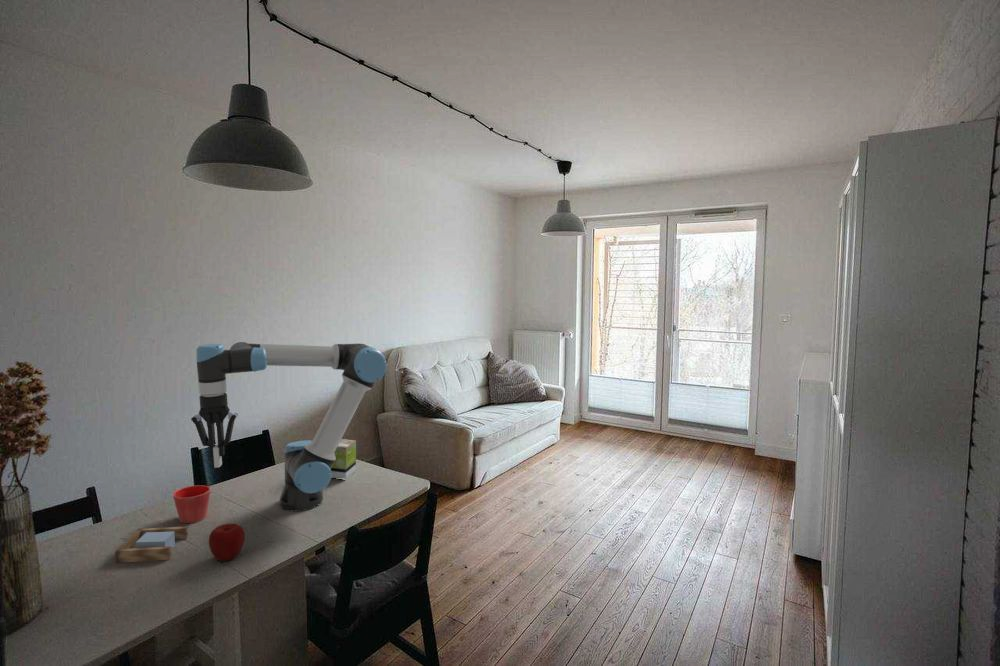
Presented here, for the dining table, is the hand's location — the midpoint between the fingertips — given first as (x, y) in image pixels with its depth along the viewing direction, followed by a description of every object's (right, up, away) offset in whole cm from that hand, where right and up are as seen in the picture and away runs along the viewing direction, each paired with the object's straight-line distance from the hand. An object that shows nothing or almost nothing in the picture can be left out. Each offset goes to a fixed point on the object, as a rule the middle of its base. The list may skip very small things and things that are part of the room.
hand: (218, 465), depth 163 cm
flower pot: (-16, -22, +14) cm, 31 cm away
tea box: (+19, -18, +56) cm, 62 cm away
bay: (-16, -24, -6) cm, 29 cm away
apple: (+8, -25, -9) cm, 28 cm away
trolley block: (-15, -24, -7) cm, 29 cm away
